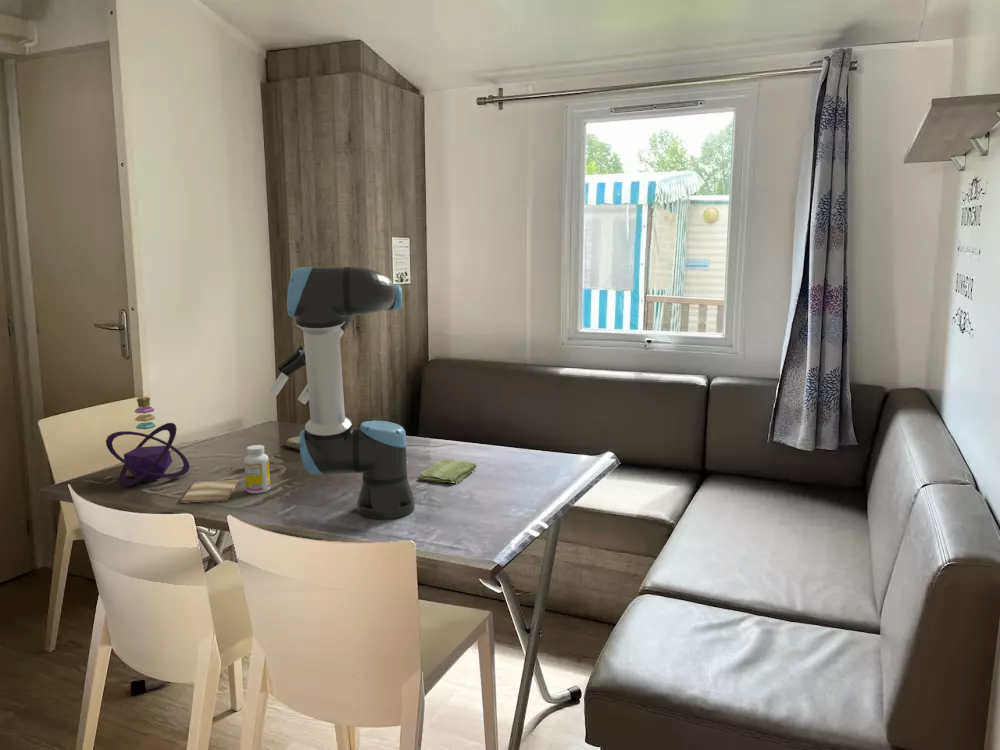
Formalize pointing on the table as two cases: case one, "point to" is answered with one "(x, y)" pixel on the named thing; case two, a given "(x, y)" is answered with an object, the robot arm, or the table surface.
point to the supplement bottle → (257, 470)
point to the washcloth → (447, 471)
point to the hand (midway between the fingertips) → (286, 397)
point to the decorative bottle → (147, 450)
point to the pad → (210, 491)
